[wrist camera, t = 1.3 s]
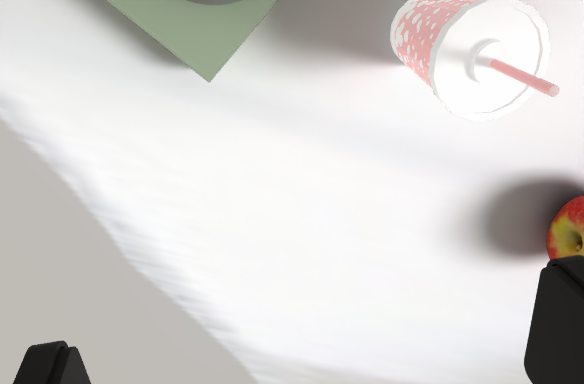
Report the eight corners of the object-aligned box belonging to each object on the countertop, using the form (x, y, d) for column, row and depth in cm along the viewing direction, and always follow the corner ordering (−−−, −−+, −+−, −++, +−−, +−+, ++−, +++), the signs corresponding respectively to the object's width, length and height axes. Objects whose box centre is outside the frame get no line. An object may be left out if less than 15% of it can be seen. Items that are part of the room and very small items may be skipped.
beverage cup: (360, 47, 33) (453, 116, 21) (418, -40, 31) (559, -21, 19) (428, 94, 35) (549, 182, 23) (486, 15, 33) (652, 65, 21)
